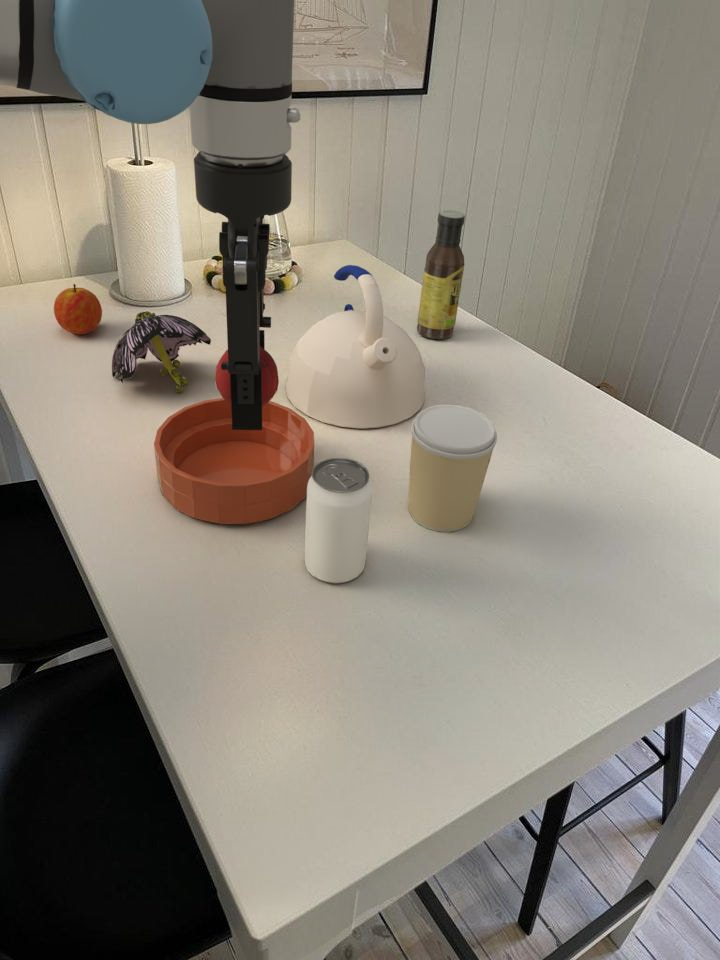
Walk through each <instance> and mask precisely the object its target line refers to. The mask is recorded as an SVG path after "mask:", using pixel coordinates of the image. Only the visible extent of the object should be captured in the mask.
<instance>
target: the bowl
mask: <svg viewBox="0 0 720 960" xmlns="http://www.w3.org/2000/svg"><path fill="white" fill-rule="evenodd" d="M153 447H154V449H153V450H154V455H155V465H156V474H157V482H158V485H159V489H160V491H161V495H162V496H163V498H164V499H166V500H167V501H168V502H169V503H170V504H171V505H172V506H173V507H174V508H175V510H177V511H179V512H181V513H183V514H185V515H187V516H189V517H191V518H193V519H197V520H201V521H206V522H209V523H210V522H211V523H214V524H221V525H222V524H223V525H227V524H228V525H229V524H230V525H236V524H237V525H239V524H240V525H241V524H242V525H244V524H245V525H247V524H252V523H257V522H262V521H267V520H271V519H274V518H276V517H278V516H280V515H282V514H284V513H286V512H289V511H291V510H292V509H293V508H295V507H297V505H299V503H300V502H302V501H303V500H304V499H306V498H307V485H308V481H309V479H310V477H311V476H312V470H313V468H314V467H315V447H316V446H315V433H314V431H313V429H312V427H311V426H310V424H309V422H308V421H307V419H306V418H304V417H303V416H302V415H301V414H299V413H298V412H296V411H295V410H294V409H292V408H290V407H288V406H284V405H282V404H280V403H277V402H275V401H272V400H270V401H269V402H268V403H267V404H266V405H264V406H263V407H262V430H232V409H231V404H230V403H228V402H227V401H225V400H224V398H223V397H219V398H211V399H205V400H202V401H199V402H196V403H193V404H190V405H187V406H184V407H183V408H181V409H180V410H177V411H176V412H174V413H173V414H171V415H169V416H168V417H167V418H166V419H165V420H164V421H163V423H161V425H160V426H159V427H158V429H157V430H156V434H155V438H154V443H153Z"/></svg>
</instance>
